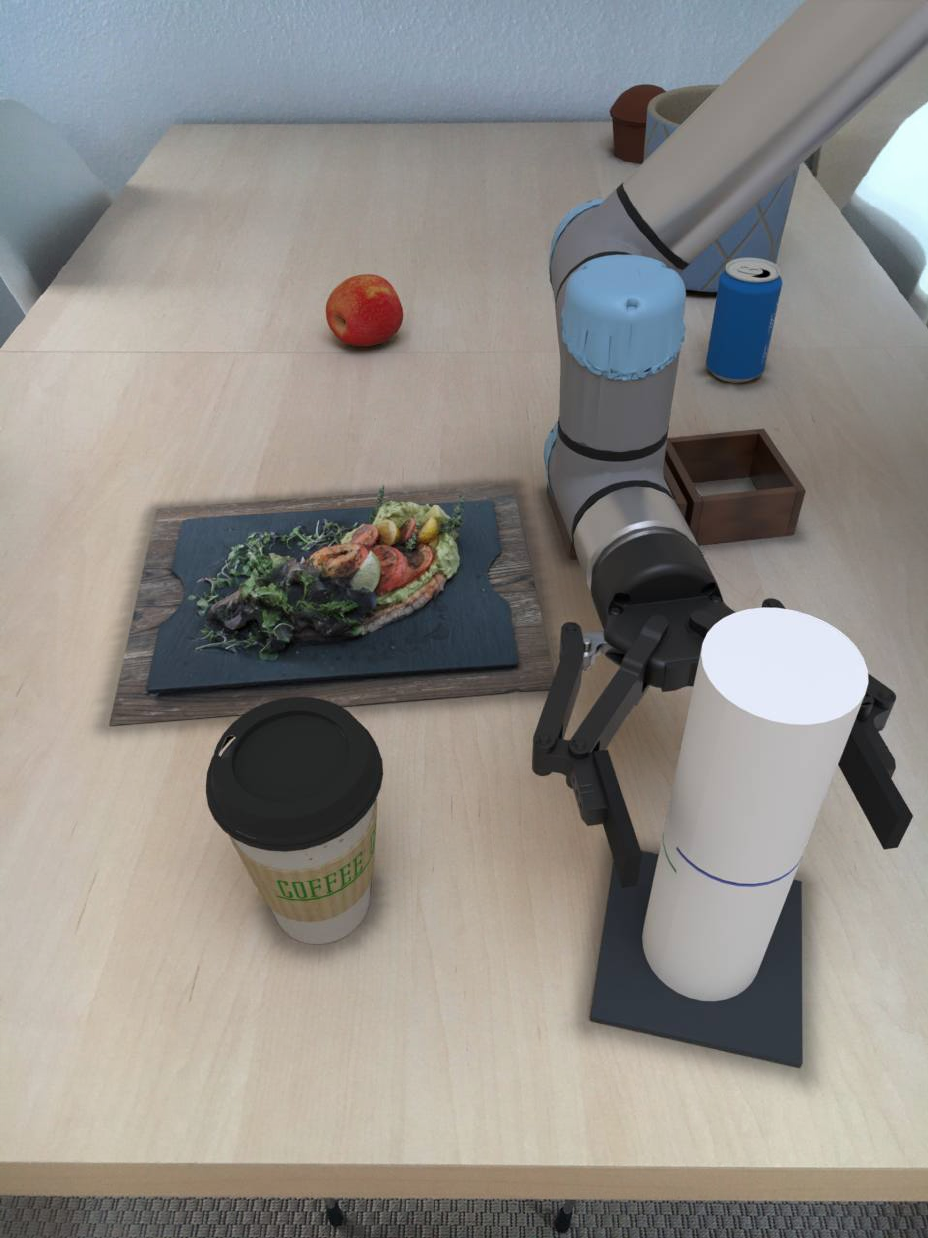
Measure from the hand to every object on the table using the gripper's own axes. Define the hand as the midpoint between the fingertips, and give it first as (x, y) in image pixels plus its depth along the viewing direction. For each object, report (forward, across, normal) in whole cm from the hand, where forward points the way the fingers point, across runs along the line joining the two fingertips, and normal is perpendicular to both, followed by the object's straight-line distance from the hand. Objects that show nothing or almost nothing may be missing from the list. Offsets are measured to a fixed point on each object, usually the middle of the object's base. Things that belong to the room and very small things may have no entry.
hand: (767, 853), depth 48 cm
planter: (-96, -31, -16) cm, 102 cm away
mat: (-3, 0, -15) cm, 16 cm away
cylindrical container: (-3, 0, -15) cm, 15 cm away
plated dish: (-41, +20, -15) cm, 48 cm away
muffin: (-141, -36, -16) cm, 146 cm away
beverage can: (-70, -26, -16) cm, 76 cm away
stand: (-46, -11, -15) cm, 50 cm away
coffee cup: (-10, +23, -15) cm, 30 cm away
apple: (-84, +14, -15) cm, 87 cm away
